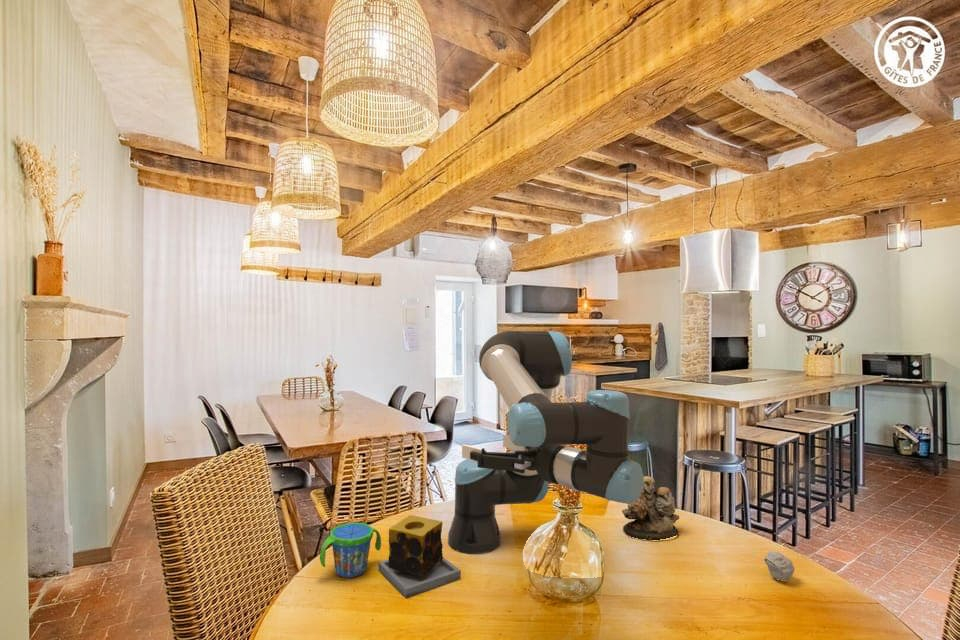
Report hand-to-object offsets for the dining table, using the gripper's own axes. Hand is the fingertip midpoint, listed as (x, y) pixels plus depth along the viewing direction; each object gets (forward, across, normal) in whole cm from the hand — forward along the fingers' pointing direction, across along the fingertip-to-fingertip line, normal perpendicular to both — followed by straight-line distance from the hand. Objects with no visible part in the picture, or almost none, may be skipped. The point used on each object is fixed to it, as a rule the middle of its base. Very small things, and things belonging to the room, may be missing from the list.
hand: (484, 445), depth 109 cm
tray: (+19, -3, -35) cm, 40 cm away
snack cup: (+32, -14, -35) cm, 50 cm away
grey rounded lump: (-46, +59, -35) cm, 83 cm away
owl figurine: (-11, +63, -35) cm, 73 cm away
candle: (+20, -3, -33) cm, 39 cm away
